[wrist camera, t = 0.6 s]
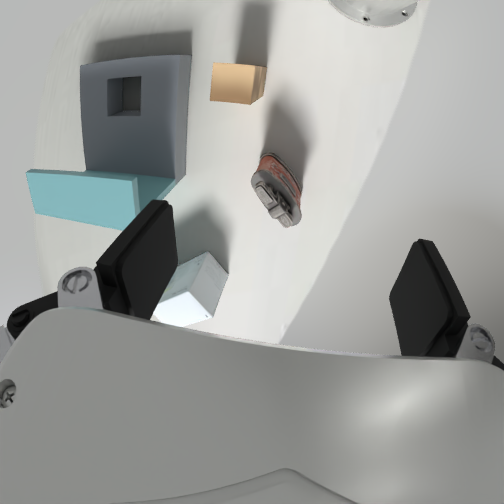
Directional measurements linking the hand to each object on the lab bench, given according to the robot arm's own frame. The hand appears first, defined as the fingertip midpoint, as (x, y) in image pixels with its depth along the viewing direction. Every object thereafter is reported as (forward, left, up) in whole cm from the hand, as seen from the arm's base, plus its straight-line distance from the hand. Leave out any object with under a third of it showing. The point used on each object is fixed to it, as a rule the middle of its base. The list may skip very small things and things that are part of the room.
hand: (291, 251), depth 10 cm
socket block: (+2, -23, -29) cm, 37 cm away
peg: (-4, -7, -29) cm, 30 cm away
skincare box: (+30, -13, -29) cm, 44 cm away
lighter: (+9, -1, -29) cm, 31 cm away
